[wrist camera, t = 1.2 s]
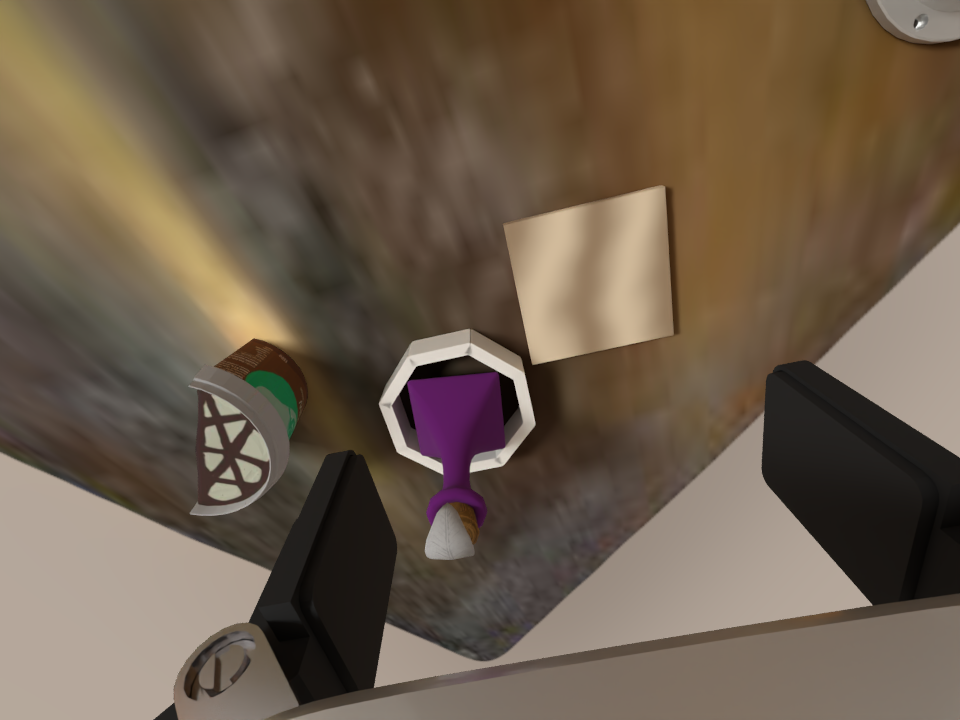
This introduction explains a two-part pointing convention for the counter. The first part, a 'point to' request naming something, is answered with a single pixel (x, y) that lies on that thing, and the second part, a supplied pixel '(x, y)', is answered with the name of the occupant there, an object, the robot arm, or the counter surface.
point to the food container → (245, 425)
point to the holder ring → (448, 349)
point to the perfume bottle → (456, 452)
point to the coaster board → (593, 275)
